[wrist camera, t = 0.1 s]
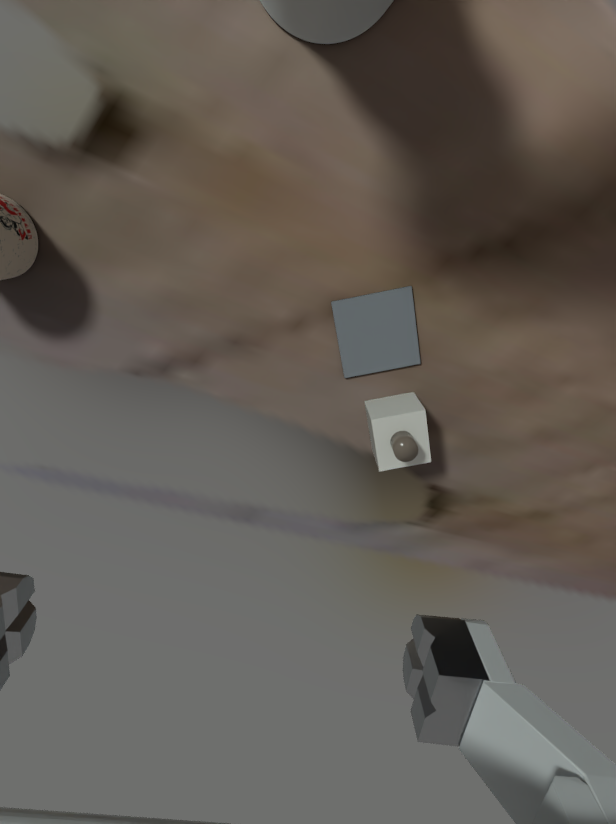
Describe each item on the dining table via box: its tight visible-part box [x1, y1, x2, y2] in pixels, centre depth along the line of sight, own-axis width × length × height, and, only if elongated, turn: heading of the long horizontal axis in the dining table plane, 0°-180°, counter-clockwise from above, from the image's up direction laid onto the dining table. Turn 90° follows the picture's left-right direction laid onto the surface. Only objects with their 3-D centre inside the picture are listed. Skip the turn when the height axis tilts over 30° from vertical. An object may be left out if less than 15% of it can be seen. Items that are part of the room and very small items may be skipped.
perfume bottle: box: [364, 392, 431, 471], centre depth 57 cm, size 6×6×8 cm
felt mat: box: [331, 286, 420, 378], centre depth 57 cm, size 9×9×1 cm
